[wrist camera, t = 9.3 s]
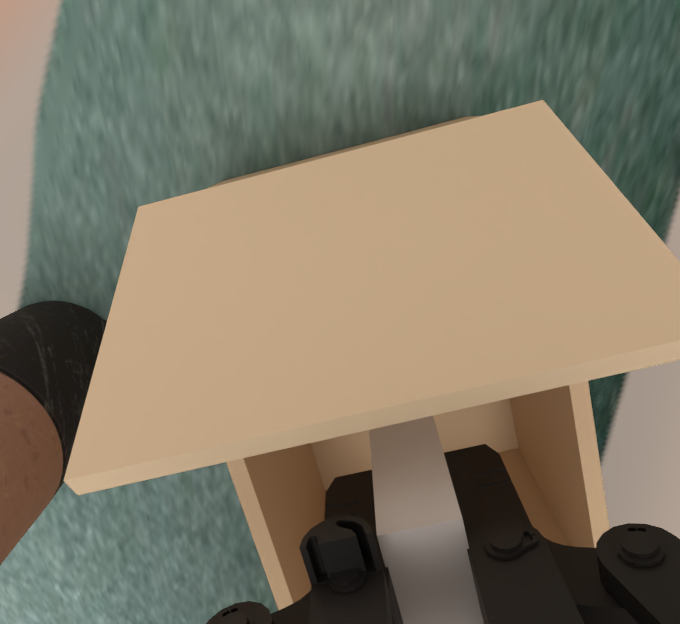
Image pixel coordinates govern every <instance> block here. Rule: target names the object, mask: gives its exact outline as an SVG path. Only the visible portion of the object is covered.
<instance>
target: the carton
mask: <svg viewBox="0 0 680 624" xmlns="http://www.w3.org/2000/svg"><path fill="white" fill-rule="evenodd" d="M476 117H480V116H466V117H463V118H459V119H455V120H451V121H447V122H444V123H440V124H436V125H432V126H429V127H425V128H421V129H417V130H413V131H410V132H406V133H402V134H398V135H395V136H391V137H387V138H383V139H379V140H376V141H372V142H368V143H364V144H361V145H357V146H353V147H349V148H345V149H342V150H338V151H334V152H330V153H327V154H323V155H319V156H315V157H311V158H308V159H304V160H300V161H296V162H293V163H289V164H285V165H281V166H277V167H274V168H270V169H266V170H262V171H259V172H255V173H251V174H247V175H243V176H240V177H236V178H232V179H228V180H225V181H221V182H219V183H217V184H215V185H213V186H211V187H209V188H212V187H215V186H219V185H223V184H227V183H230V182H234V181H238V180H242V179H246V178H249V177H253V176H257V175H261V174H264V173H268V172H272V171H276V170H280V169H283V168H287V167H291V166H295V165H299V164H302V163H306V162H310V161H314V160H317V159H321V158H325V157H329V156H333V155H336V154H340V153H344V152H348V151H352V150H355V149H359V148H363V147H367V146H370V145H374V144H378V143H382V142H386V141H389V140H393V139H397V138H401V137H404V136H408V135H412V134H416V133H420V132H423V131H427V130H431V129H435V128H439V127H442V126H446V125H450V124H454V123H457V122H461V121H465V120H469V119H473V118H476ZM207 189H208V188H207ZM433 418H434V421H435V425H436V428H437V432H438V435H439V439H440V442H441V446H442V449H443V453H444V452H449V451H454V450H458V449H463V448H468V447H472V446H477V445H482V444H486V445H488V446H489V447H490V448H492V449H493V450H495V451H496V452H498V453H499V454H500V456H501V458H502V460H503V462H504V465H505V467H506V470H507V471H508V474H509V476H510V478H511V481H512V482H513V485H514V487H515V489H516V491H517V493H518V496H519V498H520V500H521V502H522V504H523V507H524V509H525V511H526V513H527V515H528V518H529V520H530V522H531V524H532V526H533V527H534V528H536V529H538V531H539V532H540V533H541V534H542V536H543V537H544V538H546V539H548V540H550V541H552V542H555V543H558V544H562V545H566V546H574V547H591V548H596V543H597V541H598V540H599V538H600V537H601V535H602V534H603V533H604V532H606V531H608V530H609V529H610V528H609V522H608V514H607V508H606V501H605V495H604V487H603V480H602V473H601V466H600V459H599V453H598V446H597V439H596V432H595V425H594V418H593V412H592V405H591V398H590V391H589V384H588V381H584V382H580V383H575V384H571V385H567V386H562V387H558V388H553V389H549V390H544V391H540V392H535V393H531V394H526V395H522V396H518V397H513V398H509V399H504V400H500V401H495V402H491V403H486V404H482V405H478V406H473V407H469V408H464V409H460V410H455V411H451V412H446V413H442V414H437V415H433ZM226 463H227V466H228V469H229V472H230V475H231V477H232V480H233V483H234V486H235V489H236V491H237V494H238V497H239V500H240V503H241V505H242V508H243V511H244V514H245V517H246V520H247V522H248V525H249V528H250V531H251V534H252V536H253V539H254V542H255V545H256V548H257V551H258V553H259V556H260V559H261V562H262V565H263V567H264V570H265V573H266V576H267V579H268V581H269V584H270V587H271V590H272V593H273V596H274V598H275V601H276V604H277V607H278V610H281V609H283V608H285V607H287V606H289V605H291V604H293V603H295V602H296V601H298V600H300V599H301V598H302V597H304V596H305V595H306V594H307V593H309V591H310V590H311V583H310V579H309V576H308V573H307V570H306V567H305V564H304V561H303V558H302V555H301V552H300V549H299V547H300V544H301V541H302V539H303V537H304V536H305V535H306V534H307V532H308V531H309V530H310V529H311V528H312V527H314V526H316V525H317V524H319V523H320V522H322V521H324V517H325V499H326V491H327V490H328V488H329V487H330V485H331V483H332V482H333V480H334V479H335V477H339V476H344V475H349V474H353V473H358V472H363V471H367V470H372V463H371V449H370V436H369V430H366V431H362V432H357V433H353V434H348V435H344V436H340V437H335V438H331V439H326V440H322V441H317V442H313V443H308V444H304V445H299V446H295V447H291V448H286V449H282V450H277V451H273V452H268V453H264V454H259V455H255V456H251V457H246V458H242V459H237V460H233V461H228V462H226Z"/></svg>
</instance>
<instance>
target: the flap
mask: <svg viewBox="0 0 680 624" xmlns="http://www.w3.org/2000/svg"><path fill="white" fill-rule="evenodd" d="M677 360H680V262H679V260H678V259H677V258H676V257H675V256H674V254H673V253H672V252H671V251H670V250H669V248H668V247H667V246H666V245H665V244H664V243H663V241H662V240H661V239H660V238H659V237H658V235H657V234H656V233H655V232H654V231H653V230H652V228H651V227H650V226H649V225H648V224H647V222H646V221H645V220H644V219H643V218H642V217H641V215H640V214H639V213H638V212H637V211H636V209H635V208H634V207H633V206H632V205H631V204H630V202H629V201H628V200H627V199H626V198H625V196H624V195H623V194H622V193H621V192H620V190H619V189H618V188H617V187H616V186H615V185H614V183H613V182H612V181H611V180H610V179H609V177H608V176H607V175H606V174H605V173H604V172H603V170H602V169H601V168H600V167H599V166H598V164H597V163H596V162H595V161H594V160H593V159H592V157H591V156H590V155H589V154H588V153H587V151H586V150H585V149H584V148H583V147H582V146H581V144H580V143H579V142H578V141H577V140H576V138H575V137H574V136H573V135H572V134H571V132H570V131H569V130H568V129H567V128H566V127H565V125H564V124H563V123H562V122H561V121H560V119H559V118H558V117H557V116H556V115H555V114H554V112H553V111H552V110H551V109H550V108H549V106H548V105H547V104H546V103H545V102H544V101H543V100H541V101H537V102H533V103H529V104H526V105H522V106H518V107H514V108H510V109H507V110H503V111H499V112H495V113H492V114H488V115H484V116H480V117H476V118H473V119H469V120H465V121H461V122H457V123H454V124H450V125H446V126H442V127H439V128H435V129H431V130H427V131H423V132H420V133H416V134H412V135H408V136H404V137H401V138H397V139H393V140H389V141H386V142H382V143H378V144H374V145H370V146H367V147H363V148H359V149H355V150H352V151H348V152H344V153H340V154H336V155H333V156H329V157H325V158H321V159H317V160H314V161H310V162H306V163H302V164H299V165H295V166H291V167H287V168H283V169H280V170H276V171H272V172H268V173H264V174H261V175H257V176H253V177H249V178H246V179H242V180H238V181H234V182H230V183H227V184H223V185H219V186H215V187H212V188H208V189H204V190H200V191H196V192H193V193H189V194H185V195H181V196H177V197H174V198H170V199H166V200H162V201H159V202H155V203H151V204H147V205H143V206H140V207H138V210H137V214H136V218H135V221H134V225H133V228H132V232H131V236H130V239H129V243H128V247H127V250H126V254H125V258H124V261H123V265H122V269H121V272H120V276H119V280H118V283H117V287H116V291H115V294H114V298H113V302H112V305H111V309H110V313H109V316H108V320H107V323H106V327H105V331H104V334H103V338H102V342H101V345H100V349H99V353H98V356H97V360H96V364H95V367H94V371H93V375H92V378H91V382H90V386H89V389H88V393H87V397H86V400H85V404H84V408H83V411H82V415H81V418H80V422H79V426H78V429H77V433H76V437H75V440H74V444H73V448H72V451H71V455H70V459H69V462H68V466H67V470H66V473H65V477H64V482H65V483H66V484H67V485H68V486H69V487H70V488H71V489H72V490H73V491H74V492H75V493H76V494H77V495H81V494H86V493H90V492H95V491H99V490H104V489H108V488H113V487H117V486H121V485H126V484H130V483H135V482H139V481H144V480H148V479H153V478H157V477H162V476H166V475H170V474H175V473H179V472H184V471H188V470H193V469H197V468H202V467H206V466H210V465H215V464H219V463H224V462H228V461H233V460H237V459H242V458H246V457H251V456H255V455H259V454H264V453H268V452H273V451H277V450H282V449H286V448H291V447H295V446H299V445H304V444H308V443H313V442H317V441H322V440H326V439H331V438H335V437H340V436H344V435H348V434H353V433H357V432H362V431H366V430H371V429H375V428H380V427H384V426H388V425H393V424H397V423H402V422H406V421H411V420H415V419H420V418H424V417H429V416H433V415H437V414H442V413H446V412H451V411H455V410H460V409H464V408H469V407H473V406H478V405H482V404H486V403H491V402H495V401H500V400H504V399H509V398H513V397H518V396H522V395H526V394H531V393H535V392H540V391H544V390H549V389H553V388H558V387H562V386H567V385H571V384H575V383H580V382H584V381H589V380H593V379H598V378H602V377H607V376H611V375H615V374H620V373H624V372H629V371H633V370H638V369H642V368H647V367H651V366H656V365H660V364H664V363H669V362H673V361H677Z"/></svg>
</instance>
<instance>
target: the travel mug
mask: <svg viewBox="0 0 680 624" xmlns="http://www.w3.org/2000/svg"><path fill="white" fill-rule="evenodd" d="M105 327H106V322H105V321H104V320H102V319H101V318H100V317H99V316H97V315H95V314H94V313H92V312H91V311H89V310H87V309H85V308H82V307H80V306H77V305H74V304H70V303H65V302H41V303H36V304H32V305H29V306H26V307H24V308H22V309H20V310H17V311H15V312H13V313H11V314H9V315H7V316H5V317H3V318H1V319H0V565H1V563H2V562H3V561H4V559H5V558H6V557H7V556H8V554H9V553H10V552H11V551H12V549H13V548H14V547H15V546H16V544H17V543H18V542H19V541H20V539H21V538H22V537H23V535H24V534H25V533H26V532H27V530H28V529H29V528H30V527H31V525H32V524H33V523H34V522H35V520H36V519H37V518H38V517H39V515H40V514H41V513H42V511H43V510H44V509H45V508H46V506H47V505H48V504H49V502H50V501H51V499H52V498H53V497H54V496H55V494H56V493H57V491H58V490H59V488H60V487H61V486H62V484H63V483H64V477H65V473H66V470H67V466H68V462H69V459H70V455H71V451H72V448H73V444H74V440H75V437H76V433H77V429H78V426H79V422H80V418H81V415H82V411H83V408H84V404H85V400H86V397H87V393H88V389H89V386H90V382H91V378H92V375H93V371H94V367H95V364H96V360H97V356H98V353H99V349H100V345H101V342H102V338H103V334H104V331H105Z"/></svg>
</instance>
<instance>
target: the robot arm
mask: <svg viewBox="0 0 680 624" xmlns="http://www.w3.org/2000/svg"><path fill="white" fill-rule="evenodd" d="M369 436H370V449H371V463H372V470H367V471H363V472H358V473H353V474H349V475H344V476H339V477H335V479H334V480H333V482H332V483H331V485H330V487H329V488H328V490H327V491H326V499H325V517H324V521H322V522H320V523H319V524H317V525H316V526H314V527H312V528H311V529H310V530H309V531H308V532H307V534H306V535H305V536H304V537H303V539H302V541H301V544H300V547H299V549H300V552H301V555H302V558H303V561H304V564H305V567H306V570H307V573H308V576H309V579H310V583H311V590H310V591H309V593H307V594H306V595H305V596H304V597H302V598H301V599H300V600H298V601H296V602H295V603H293V604H291V605H289V606H287V607H285V608H283V609H281V610H279V611H277V612H274V613H272V614H270V611H269V609H267V608H266V607H265V606H264V605H262V604H261V603H256V602H251V601H247V602H241V603H235V604H233V605H231V606H229V607H227V608H225V609H222V610H221V611H220V612H218V613H217V614H216V615H215V616H213V617H212V618H211V619H209V621H208V622H207V623H206V624H680V539H679V538H677V537H676V536H674V535H672V534H671V533H669V532H667V531H666V530H664V529H662V528H659V527H655V526H651V525H648V524H624V525H620V526H616V527H613V528H611V529H609V530H608V531H606V532H604V533H603V534H602V535H601V537H600V538H599V540H598V541H597V543H596V548H591V547H574V546H566V545H562V544H558V543H555V542H552V541H550V540H548V539H546V538H544V537H543V536H542V534H541V533H540V532H539V531H538V529H536V528H534V527H533V526H532V524H531V522H530V520H529V518H528V515H527V513H526V511H525V509H524V507H523V504H522V502H521V500H520V498H519V496H518V493H517V491H516V489H515V487H514V485H513V482H512V481H511V478H510V476H509V474H508V471H507V470H506V467H505V465H504V462H503V460H502V458H501V456H500V454H499V453H498V452H496V451H495V450H493V449H492V448H490V447H489V446H488V445H486V444H482V445H477V446H472V447H468V448H463V449H458V450H454V451H449V452H444V453H443V449H442V446H441V442H440V439H439V435H438V432H437V428H436V425H435V421H434V418H433V416H429V417H424V418H420V419H415V420H411V421H406V422H402V423H397V424H393V425H388V426H384V427H380V428H375V429H371V430H369Z"/></svg>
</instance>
